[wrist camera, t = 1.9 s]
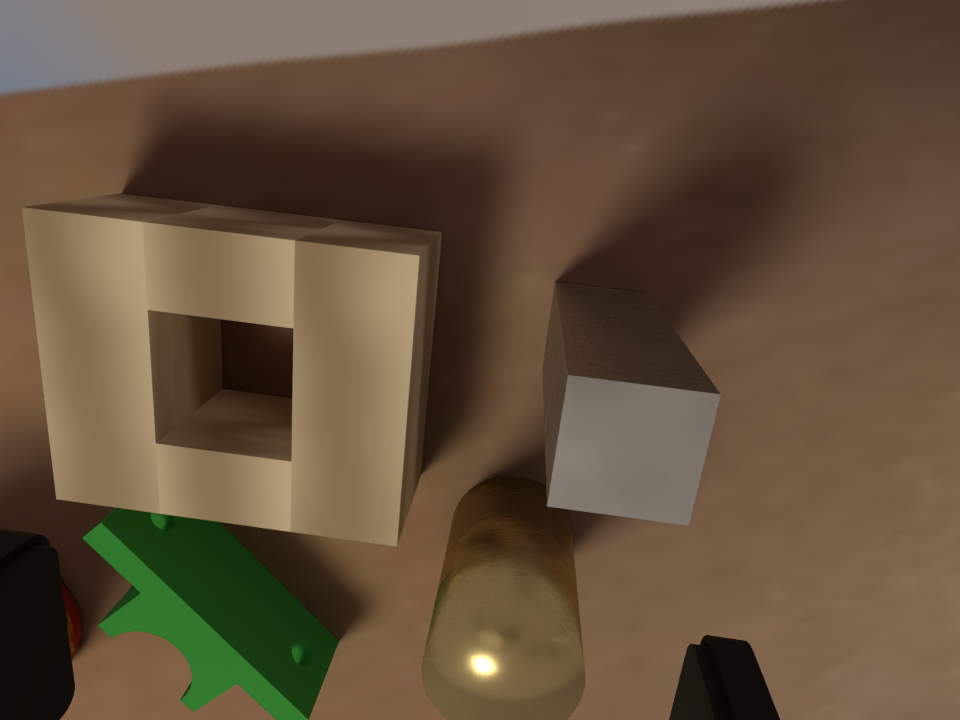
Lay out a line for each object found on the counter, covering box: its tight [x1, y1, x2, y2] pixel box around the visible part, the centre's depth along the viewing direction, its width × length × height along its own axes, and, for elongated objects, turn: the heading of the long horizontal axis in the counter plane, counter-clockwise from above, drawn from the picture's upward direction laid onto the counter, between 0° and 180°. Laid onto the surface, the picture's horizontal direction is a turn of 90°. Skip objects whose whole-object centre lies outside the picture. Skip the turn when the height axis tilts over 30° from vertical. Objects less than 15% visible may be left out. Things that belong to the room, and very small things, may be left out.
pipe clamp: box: [83, 508, 339, 720], centre depth 28 cm, size 11×4×5 cm, turn 39°
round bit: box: [422, 477, 585, 720], centre depth 24 cm, size 5×5×8 cm
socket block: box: [22, 193, 442, 547], centre depth 23 cm, size 12×10×5 cm
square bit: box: [542, 281, 721, 526], centre depth 20 cm, size 3×3×10 cm
